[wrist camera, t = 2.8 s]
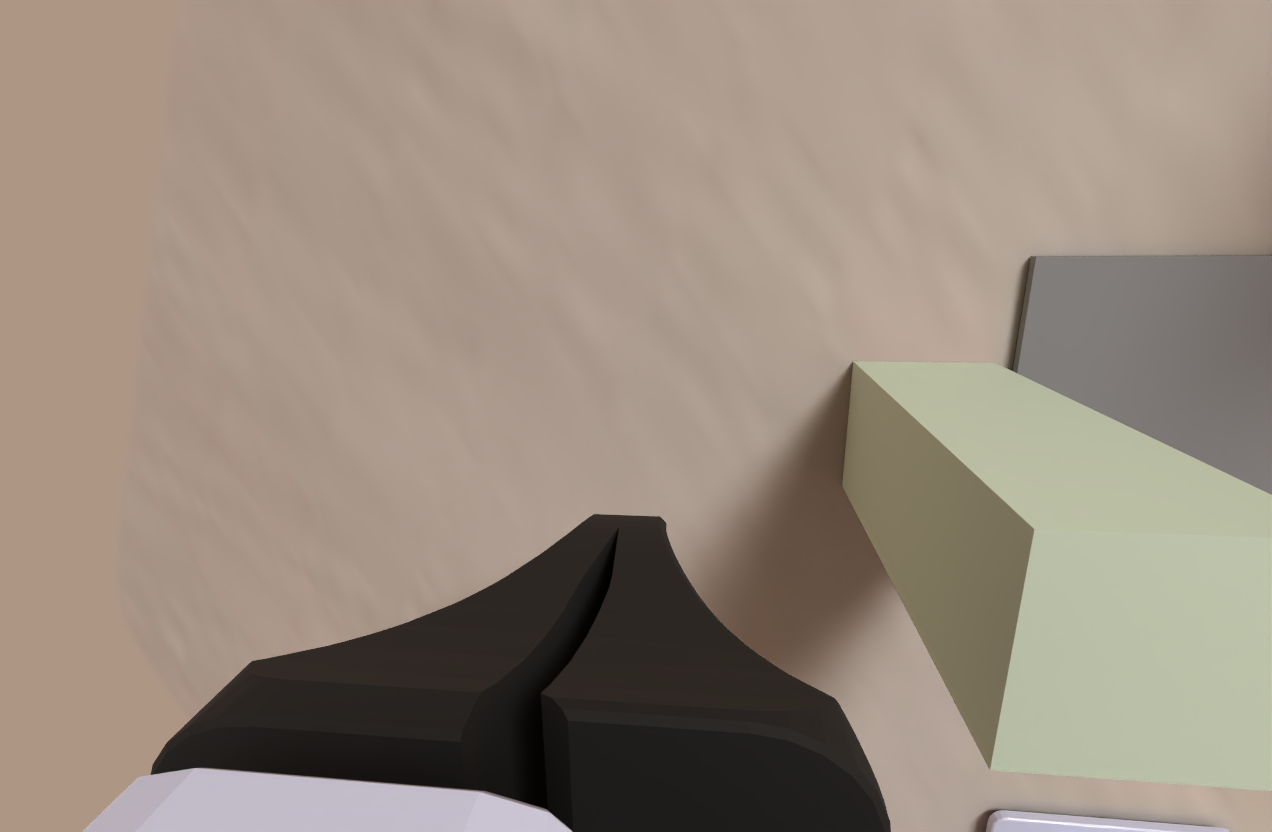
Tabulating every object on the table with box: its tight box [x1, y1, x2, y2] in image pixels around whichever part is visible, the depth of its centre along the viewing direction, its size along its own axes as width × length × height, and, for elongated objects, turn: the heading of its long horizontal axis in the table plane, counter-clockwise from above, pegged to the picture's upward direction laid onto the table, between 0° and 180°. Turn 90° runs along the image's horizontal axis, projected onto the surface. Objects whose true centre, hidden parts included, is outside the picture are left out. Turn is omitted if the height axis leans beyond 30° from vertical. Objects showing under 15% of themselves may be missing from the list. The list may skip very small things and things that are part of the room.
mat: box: [1013, 255, 1272, 495], centre depth 18 cm, size 10×14×1 cm
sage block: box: [842, 361, 1272, 791], centre depth 14 cm, size 4×4×11 cm
